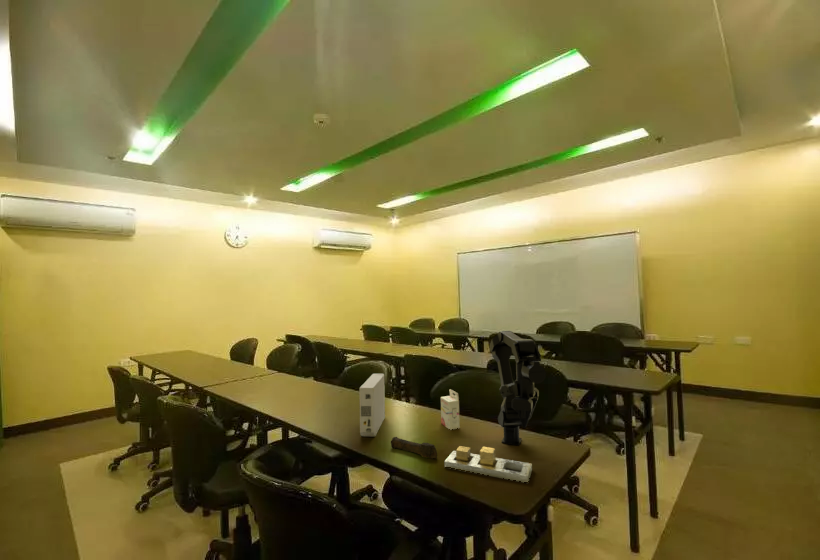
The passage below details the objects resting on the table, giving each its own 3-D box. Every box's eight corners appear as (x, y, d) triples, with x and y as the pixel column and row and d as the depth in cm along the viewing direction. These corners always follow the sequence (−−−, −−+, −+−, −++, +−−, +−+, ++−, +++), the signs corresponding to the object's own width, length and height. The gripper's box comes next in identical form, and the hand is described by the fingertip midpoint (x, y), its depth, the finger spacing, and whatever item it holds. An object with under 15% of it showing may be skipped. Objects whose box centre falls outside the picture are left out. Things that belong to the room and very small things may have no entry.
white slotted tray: (453, 456, 128) (453, 441, 128) (532, 470, 117) (531, 454, 117) (444, 467, 120) (444, 451, 120) (528, 483, 109) (527, 465, 109)
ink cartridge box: (440, 423, 161) (439, 389, 162) (450, 422, 163) (449, 388, 163) (449, 430, 153) (448, 394, 154) (460, 428, 155) (459, 393, 155)
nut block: (483, 465, 121) (482, 446, 121) (495, 467, 119) (495, 448, 119) (480, 470, 117) (479, 451, 118) (492, 472, 116) (492, 453, 116)
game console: (385, 416, 172) (385, 373, 173) (374, 439, 145) (373, 387, 146) (373, 416, 173) (373, 373, 174) (360, 438, 146) (359, 387, 147)
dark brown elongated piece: (390, 449, 135) (389, 436, 136) (397, 445, 139) (396, 433, 139) (432, 463, 124) (432, 448, 124) (439, 458, 127) (438, 445, 127)
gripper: (507, 369, 138) (508, 412, 137) (494, 380, 121) (496, 428, 120) (538, 372, 133) (539, 416, 132) (530, 383, 116) (531, 434, 116)
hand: (526, 423), depth 125 cm, fingers open, 9 cm apart
